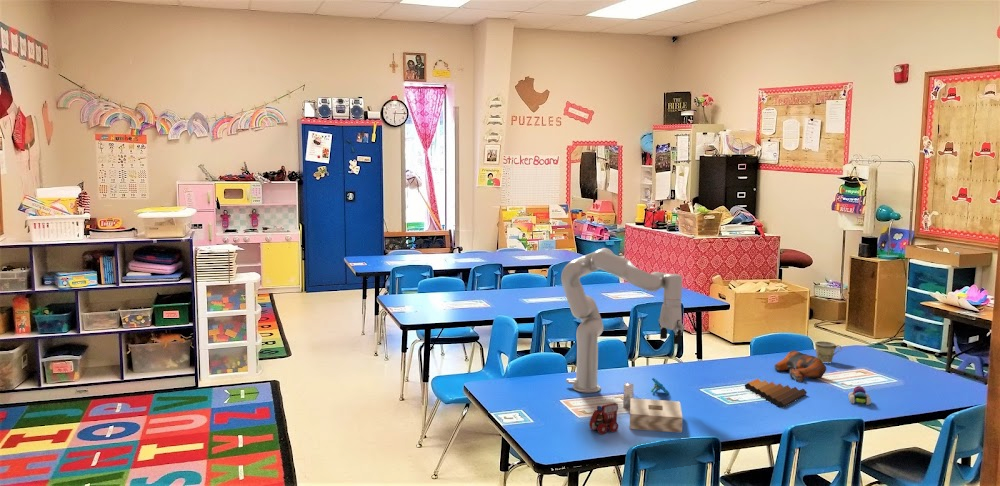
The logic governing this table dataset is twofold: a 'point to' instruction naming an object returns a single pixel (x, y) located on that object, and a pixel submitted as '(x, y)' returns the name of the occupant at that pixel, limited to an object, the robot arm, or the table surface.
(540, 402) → the table surface
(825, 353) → the ceramic cup
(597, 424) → the toy fire truck
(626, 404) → the steel peg
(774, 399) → the pan flute
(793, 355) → the orange lumpy piece
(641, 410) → the hole block
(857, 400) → the multicoloured small arched block
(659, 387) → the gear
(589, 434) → the table surface
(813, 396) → the table surface
